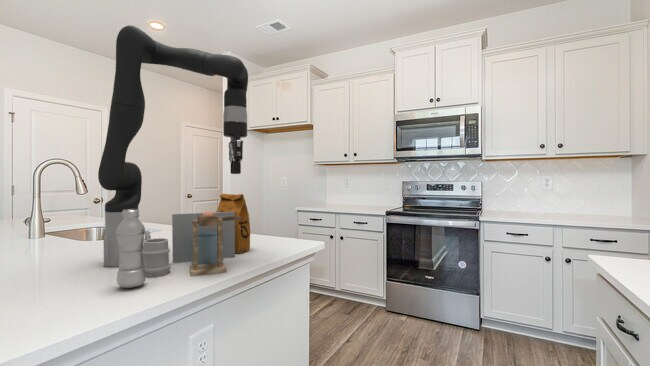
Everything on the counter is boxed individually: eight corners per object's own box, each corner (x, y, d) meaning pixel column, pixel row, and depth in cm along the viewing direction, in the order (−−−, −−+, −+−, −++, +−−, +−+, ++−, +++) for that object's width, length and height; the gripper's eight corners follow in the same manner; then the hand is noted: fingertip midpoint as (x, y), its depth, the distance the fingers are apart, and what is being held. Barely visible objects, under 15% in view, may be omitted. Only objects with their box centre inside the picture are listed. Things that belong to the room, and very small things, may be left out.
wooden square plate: (199, 226, 90) (199, 217, 90) (197, 220, 102) (197, 212, 102) (246, 223, 95) (246, 215, 95) (239, 218, 107) (239, 210, 107)
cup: (191, 268, 100) (191, 238, 100) (191, 261, 108) (191, 234, 108) (220, 265, 103) (220, 236, 103) (218, 258, 111) (218, 232, 111)
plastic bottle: (125, 293, 78) (124, 211, 78) (111, 288, 82) (110, 209, 82) (151, 285, 84) (150, 209, 83) (137, 281, 87) (136, 207, 87)
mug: (148, 279, 89) (147, 236, 89) (131, 271, 96) (130, 231, 96) (175, 273, 95) (175, 232, 94) (157, 266, 102) (157, 228, 102)
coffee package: (236, 255, 116) (236, 194, 116) (212, 251, 122) (211, 193, 122) (254, 250, 125) (254, 193, 124) (231, 246, 131) (231, 192, 130)
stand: (190, 276, 92) (189, 222, 91) (189, 269, 98) (189, 219, 98) (226, 272, 96) (226, 220, 95) (223, 266, 102) (223, 217, 102)
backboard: (172, 262, 106) (172, 214, 106) (172, 261, 107) (172, 214, 107) (234, 256, 114) (234, 211, 114) (234, 256, 115) (234, 211, 115)
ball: (203, 222, 91) (203, 211, 91) (202, 220, 94) (202, 210, 94) (214, 221, 93) (214, 211, 93) (213, 220, 95) (213, 210, 95)
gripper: (220, 124, 109) (221, 173, 110) (226, 117, 96) (226, 173, 96) (243, 126, 112) (243, 174, 113) (251, 119, 99) (251, 173, 100)
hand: (235, 173), depth 105 cm, fingers open, 5 cm apart
